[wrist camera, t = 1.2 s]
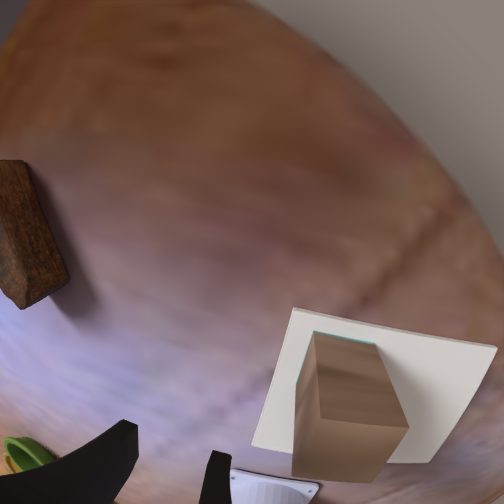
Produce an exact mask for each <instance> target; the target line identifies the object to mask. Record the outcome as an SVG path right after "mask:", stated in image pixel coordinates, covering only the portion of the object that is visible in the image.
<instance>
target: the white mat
mask: <svg viewBox="0 0 504 504" xmlns="http://www.w3.org/2000/svg"><path fill="white" fill-rule="evenodd" d="M313 330H314V331H318V332H323V333H328V334H333V335H338V336H342V337H348V338H353V339H358V340H363V341H368V342H374V343H375V346H376V348H377V350H378V352H379V355H380V357H381V359H382V362H383V364H384V366H385V368H386V371H387V373H388V375H389V378H390V380H391V382H392V385H393V387H394V390H395V392H396V394H397V397H398V399H399V402H400V404H401V407H402V409H403V412H404V414H405V417H406V419H407V422H408V425H409V427H410V428H409V430H408V431H407V433H406V434H405V436H404V437H403V439H402V441H401V442H400V444H399V445H398V447H397V448H396V449H395V451H394V452H393V454H392V455H391V457H390V458H389V459H388V461H387V462H386V463H429V462H430V460H431V459H432V458H433V456H434V455H435V454H436V452H437V451H438V450H439V448H440V447H441V445H442V444H443V443H444V441H445V440H446V438H447V437H448V435H449V434H450V433H451V431H452V430H453V428H454V427H455V425H456V424H457V422H458V420H459V419H460V417H461V416H462V414H463V412H464V411H465V409H466V408H467V406H468V404H469V403H470V401H471V399H472V397H473V396H474V394H475V392H476V390H477V389H478V387H479V385H480V383H481V381H482V380H483V378H484V376H485V374H486V372H487V370H488V368H489V366H490V364H491V362H492V360H493V358H494V356H495V354H496V352H497V349H498V348H497V347H496V346H494V345H487V344H481V343H474V342H468V341H462V340H456V339H450V338H444V337H439V336H433V335H427V334H422V333H416V332H411V331H406V330H400V329H395V328H390V327H385V326H380V325H375V324H370V323H365V322H360V321H355V320H351V319H346V318H341V317H336V316H332V315H327V314H323V313H318V312H314V311H309V310H305V309H300V308H296V307H293V310H292V314H291V317H290V321H289V324H288V328H287V331H286V335H285V338H284V342H283V345H282V349H281V352H280V355H279V359H278V362H277V365H276V369H275V372H274V375H273V379H272V382H271V385H270V388H269V391H268V395H267V398H266V401H265V404H264V407H263V410H262V413H261V416H260V419H259V422H258V425H257V428H256V431H255V434H254V437H253V440H252V445H251V446H255V447H260V448H265V449H270V450H275V451H280V452H286V453H292V454H293V440H294V418H295V390H296V381H297V378H298V375H299V372H300V369H301V366H302V363H303V360H304V357H305V354H306V351H307V348H308V345H309V342H310V339H311V336H312V333H313Z"/></svg>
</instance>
